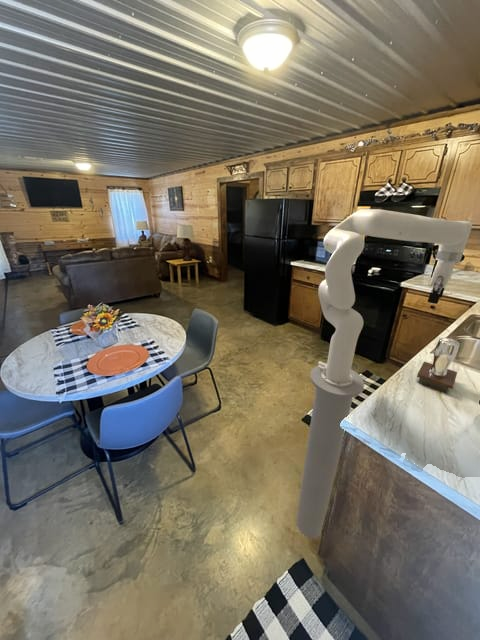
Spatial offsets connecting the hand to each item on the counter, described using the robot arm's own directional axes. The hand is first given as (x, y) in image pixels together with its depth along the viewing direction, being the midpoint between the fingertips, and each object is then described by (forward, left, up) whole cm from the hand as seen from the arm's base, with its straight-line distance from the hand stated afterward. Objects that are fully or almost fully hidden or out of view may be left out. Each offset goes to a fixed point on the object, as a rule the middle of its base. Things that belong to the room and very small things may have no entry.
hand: (434, 299), depth 104 cm
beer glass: (+9, -2, -30) cm, 31 cm away
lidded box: (+9, -2, -34) cm, 36 cm away
